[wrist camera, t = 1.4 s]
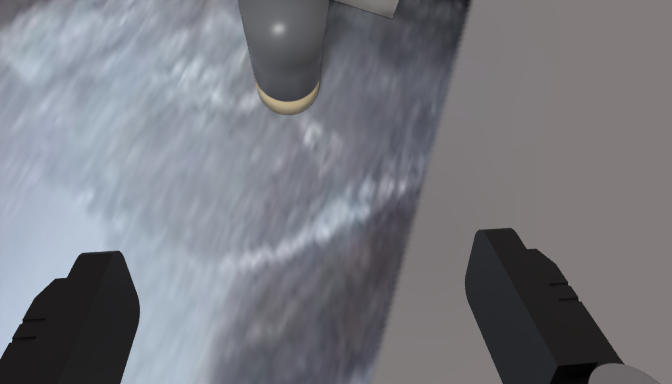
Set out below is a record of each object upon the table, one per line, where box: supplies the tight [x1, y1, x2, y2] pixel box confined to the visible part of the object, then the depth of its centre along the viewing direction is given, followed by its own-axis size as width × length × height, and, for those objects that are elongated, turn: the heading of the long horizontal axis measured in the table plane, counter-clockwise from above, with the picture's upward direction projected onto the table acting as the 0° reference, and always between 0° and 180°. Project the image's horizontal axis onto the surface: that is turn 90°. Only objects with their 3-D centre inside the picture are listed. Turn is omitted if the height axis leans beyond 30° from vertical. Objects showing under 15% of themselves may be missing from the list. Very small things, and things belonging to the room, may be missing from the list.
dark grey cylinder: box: [238, 0, 329, 115], centre depth 26 cm, size 4×4×10 cm
